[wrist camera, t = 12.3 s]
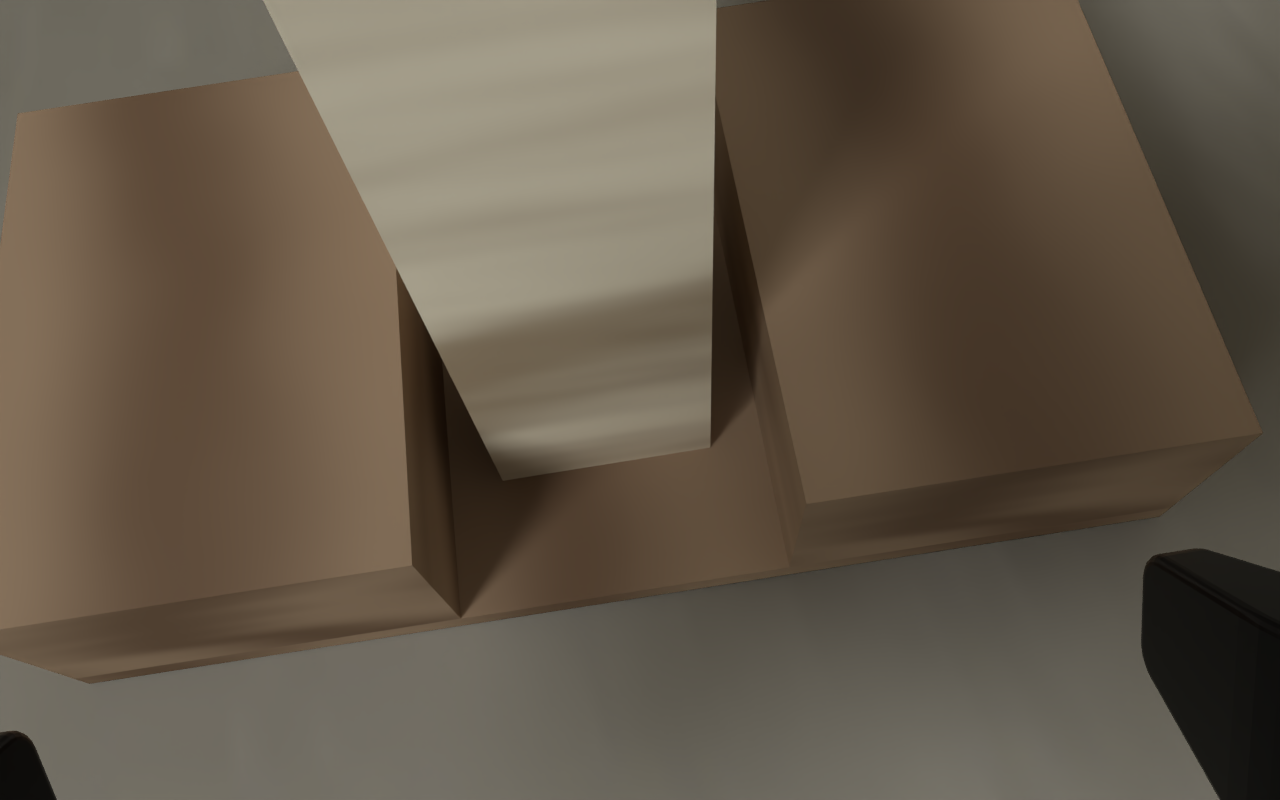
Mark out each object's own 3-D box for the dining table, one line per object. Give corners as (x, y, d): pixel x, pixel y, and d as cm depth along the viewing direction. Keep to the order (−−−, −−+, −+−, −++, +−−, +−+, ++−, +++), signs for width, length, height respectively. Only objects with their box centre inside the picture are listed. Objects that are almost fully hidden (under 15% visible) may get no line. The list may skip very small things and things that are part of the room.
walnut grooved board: (1004, 98, 24) (1059, -44, 20) (1159, 516, 20) (1263, 433, 16) (123, 231, 24) (17, 113, 20) (89, 684, 19) (-53, 637, 16)
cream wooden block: (710, 447, 20) (717, -115, 9) (502, 480, 20) (242, -42, 9) (668, 229, 22) (630, -450, 11) (480, 259, 22) (246, -393, 11)
